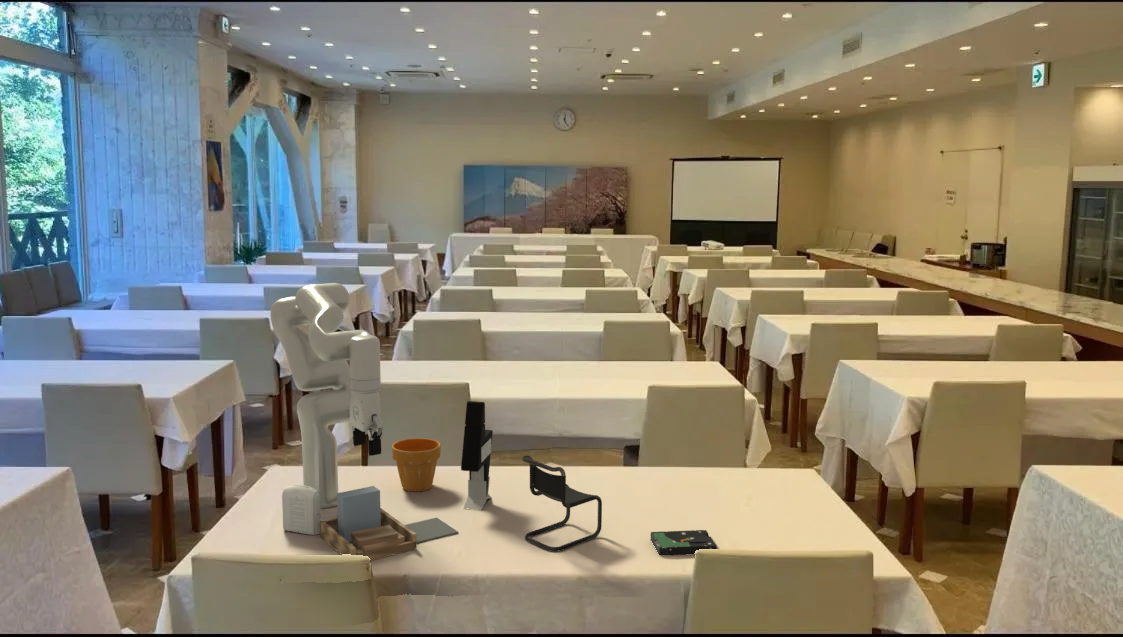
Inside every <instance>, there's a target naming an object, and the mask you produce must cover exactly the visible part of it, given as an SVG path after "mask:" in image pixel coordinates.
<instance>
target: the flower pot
mask: <svg viewBox="0 0 1123 637" xmlns="http://www.w3.org/2000/svg"><path fill="white" fill-rule="evenodd" d="M391 453H392V459H393V461H394V462H395V464H396V467H397V472H398V475H399V481H400V484H401V488H402V487H403V488H402V489H403V490H404V489H405V490H404V491H407V490H408V492H422V491H423V492H424V491H428V490H430V489H432V487H433V484H434V478H435V474H436V468H437V462H438V460H439V459H440V458H441V443H440V441H438V440H436V439H431V438H422V437H414V438H406V439H405V438H404V439H401V440H398V441H396V442H394V443H392V445H391Z"/></svg>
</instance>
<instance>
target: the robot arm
mask: <svg viewBox="0 0 1123 637" xmlns="http://www.w3.org/2000/svg"><path fill="white" fill-rule="evenodd" d="M350 298H351V297H350V293H349V291H348V290H347V288H346V286H344V285H342V284H341V283H338V282H331V283H330V282H329V283H328V282H327V283H317V284H313V283H312V284H308V285H305V286H302V287H300V288H299V289H298V290H297V292H296V293H295V296H287V297H283V298H279V299H277V300H275V302H273V304H272V305H271V307H270V320H271V326H272V329H273V332H274V334H275V335H276V337H277V338H278V341H279V343H280V344H281V345H282V347H283V349H284V351H285V352H284V353H285V355H286V359H287V362H288V366H289V370H290V372H291V376H292V380H293V383H294V384H295V387H296V388H297V389H298V391H302V392H310V391H311V392H312V393H311V392H310V393H307V394H305V395H303V396H302V397H301V398H299V400H298V401H297V403H296V413H297V418H298V423H299V427H300V433H301V451H302V454H301V455H302V477H303V478H302V480H303V485H304V486H309V487H312V488H314V489H316V490H318V491H319V492H320V496H321V509H326V508H327V509H328V508H331V507H336V506H337V493H341V491H339V475H338V474H339V468H338V442H337V441H338V440H337V438H336V436H335V435H334V433H333V432H332V431H331V430H330V429H329V426H333V425H337V424H341V423H347V422H349V424H350V425H351V426H352V427H351V428H352V444H353V446H354V447H357V446H362V445H363V446H364V445H366V444H367V442H368V444H367V446H368V449H367V450H368V451H367V452H368V456H369V457H372V456H377V455H381V454H382V435H383V428H384V427H383V424H382V408H381V396H380V391H381V390H382V387H381V386H382V385H381V382H382V380H381V343H380V342H381V341H380V339H379V338H378V337H377V336H376V335H372V334H371V333H370V332H368V331H367V330H365V329H355V330H344V331H343V330H342V331H337V330H339V329H340V327H341V326H342V324H343V322H344V319H345V318H344V314H345V313H346V311H348V309H349V307H350V304H351V303H350V302H351V299H350ZM302 326H309V328H308V333H306V331H304V330H303V329H301V328H300V327H302ZM348 361H349V363H348ZM327 389H331V390H327ZM320 390H323V391H320ZM313 391H318V392H313ZM366 432H367V435H368V438H369V439H368V441H366V437H367V436H366Z"/></svg>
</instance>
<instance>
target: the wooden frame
mask: <svg viewBox="0 0 1123 637" xmlns="http://www.w3.org/2000/svg"><path fill="white" fill-rule="evenodd" d="M380 513H381V526H386V525H390V526H391V527H392V528H393V529H394V530H395V531H396V532H398V533H400V534H401V535H403V536H404V537H405V542H404V543H400V544H396V545H392V546H388V547H384V548H380V549H376V550H372V551H367V552H363V553H359V554H356V548H355V547H354V546H353V545H351V544H352V543H350V542H348V541H347V540H346V539H344V538H343V537H342V536H341V535H340V534H338V517H335V518H334V517H333V518H330V519H325V520H321V521H320V533H319V537H320V536H321V537H320V538H322V540H324V541H325V542H326V543H327V545H329V544H330V545H331V546H330V545H329V546H330V547H332V548H333V549H334V551H336V550H337V551H336V552H337V553H338V552H339V553H341V554H351V555H363V556H368V557H369V558H370V559H371V560H370V561H374V560H378V559H381V558H385V556H386V557H390V556H393V554H394V555H398V554H402V553H405V552H409V551H414V550H417V549H418V548H417V547H418V546H417V545H418V543H417V540H416V533H415V532H413V531H412V530H411V529H409V528H408V527H406V526H405V525H406V524H404V523H403V522H401V521H400V520H398V519H397V518H395V517H394V516H393V515H391V514H390V513H388V512H387V511H386V510H384V509H383V508H381V507H380ZM339 553H338V554H339ZM341 554H340V555H341ZM389 555H390V556H389Z"/></svg>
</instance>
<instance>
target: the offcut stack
mask: <svg viewBox="0 0 1123 637" xmlns="http://www.w3.org/2000/svg"><path fill="white" fill-rule="evenodd" d="M351 538H352V539H353V541H352V543H350V544H351V545H353V546H354V547H355V548H356V554H359V553H363V552H367V551H372V550H376V549H380V548H384V547H388V546H392V545H396V544H400V543H404V542H405V537H404V536H403V535H401V534H400V533H398V532H396V531H395V530H394V529H393V528H392V527H391V526H390V525H386V526H381V527H375V528H370V529H364V530H359V531H353V532H351Z"/></svg>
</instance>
